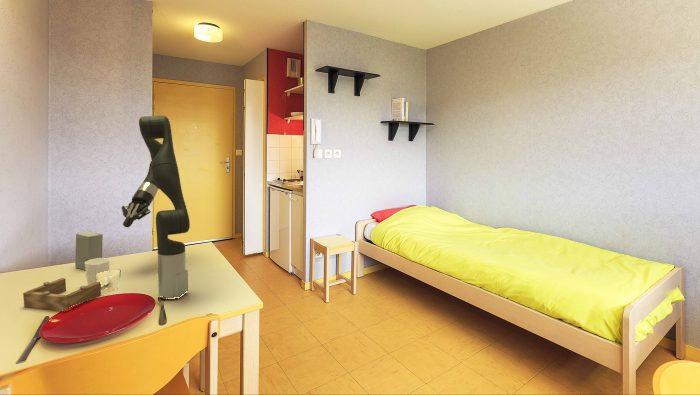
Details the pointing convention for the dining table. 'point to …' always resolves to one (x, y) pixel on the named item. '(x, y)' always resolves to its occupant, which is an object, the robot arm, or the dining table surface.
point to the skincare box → (87, 248)
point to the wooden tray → (52, 300)
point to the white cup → (95, 268)
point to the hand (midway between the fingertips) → (125, 226)
